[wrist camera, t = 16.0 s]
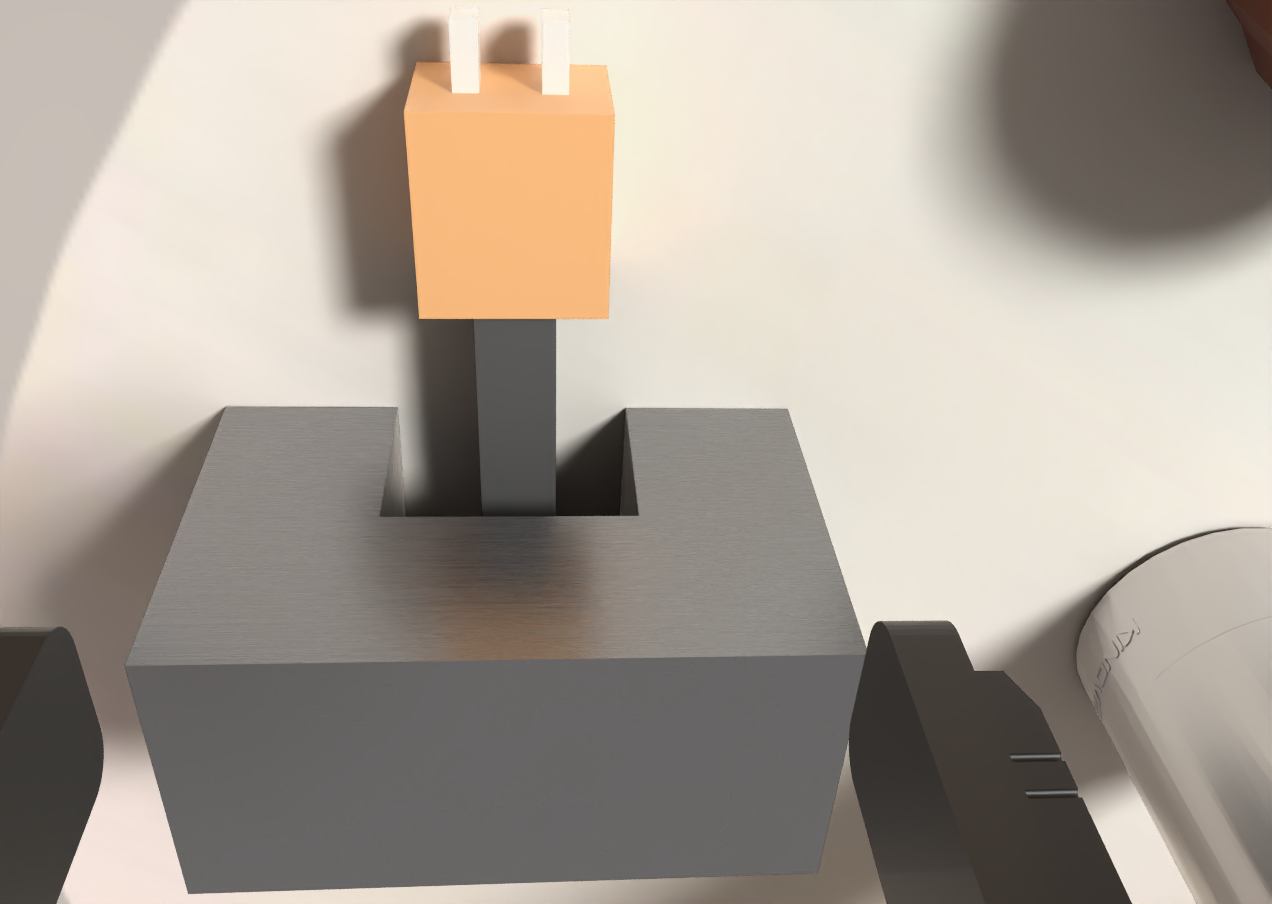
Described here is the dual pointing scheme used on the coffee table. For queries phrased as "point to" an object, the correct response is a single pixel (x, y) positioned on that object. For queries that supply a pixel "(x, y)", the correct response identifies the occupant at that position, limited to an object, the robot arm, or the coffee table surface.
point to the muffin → (1257, 32)
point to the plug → (512, 232)
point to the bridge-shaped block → (496, 665)
